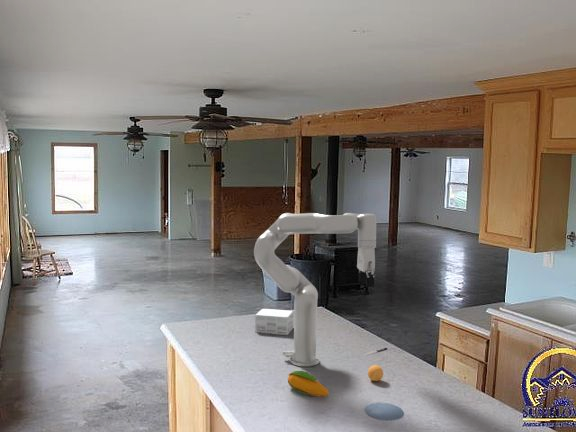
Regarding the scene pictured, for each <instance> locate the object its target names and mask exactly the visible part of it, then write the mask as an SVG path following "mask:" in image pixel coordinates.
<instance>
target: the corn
mask: <svg viewBox="0 0 576 432" xmlns="http://www.w3.org/2000/svg"><path fill="white" fill-rule="evenodd" d="M287 383H288V384H289V386H290V387H291V389H293V390H295V391H296V392H297V393H300V394H302V395H303V396H304V395H305V396H308V397H310V396H314V397H321V398H322V397H324V398H325V397H328V396H329V390H328V389H327V388H326V387H325V385H322V383H320V382H319V381H318V380H317V378H316V377H315V376H314V375H312V374H310V373H309V372H306V371H303V370H294V371H292V372H290V373H289V374H288V377H287Z"/></svg>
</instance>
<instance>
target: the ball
mask: <svg viewBox="0 0 576 432" xmlns="http://www.w3.org/2000/svg"><path fill="white" fill-rule="evenodd" d="M367 375H368V378H369V379H370V380H371V381H372V382H379V381H380V380H382V379H383V377H384V370H383V369H382V367H381V366H379V365H375V364H374V365H371V366H370V367H369V368H368V370H367Z"/></svg>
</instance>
